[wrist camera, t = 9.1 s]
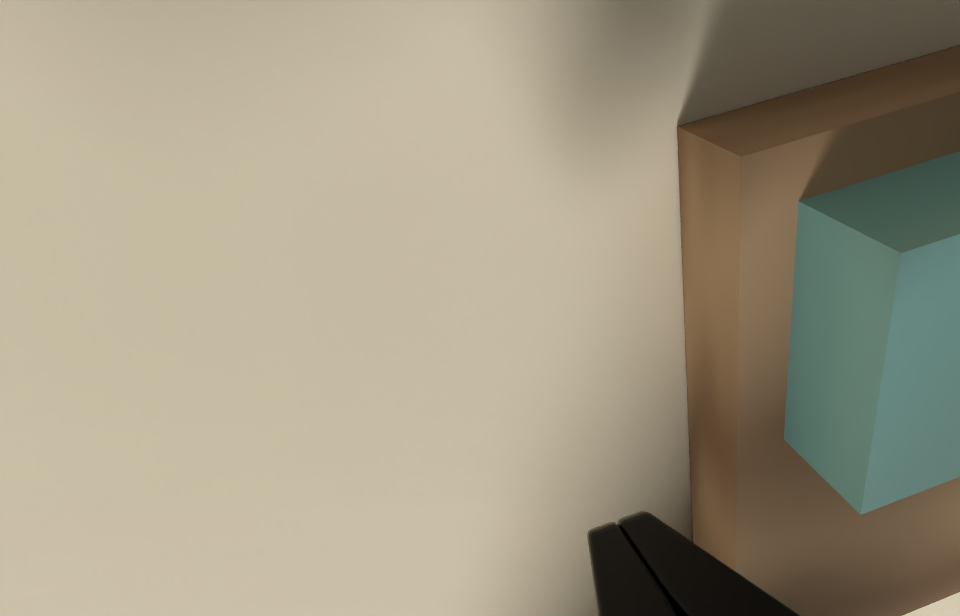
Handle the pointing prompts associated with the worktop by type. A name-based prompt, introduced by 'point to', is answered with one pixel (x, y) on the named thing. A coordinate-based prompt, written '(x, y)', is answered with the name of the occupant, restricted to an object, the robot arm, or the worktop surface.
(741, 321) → the walnut step
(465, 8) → the worktop surface
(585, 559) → the worktop surface
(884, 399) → the teal tile
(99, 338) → the worktop surface
